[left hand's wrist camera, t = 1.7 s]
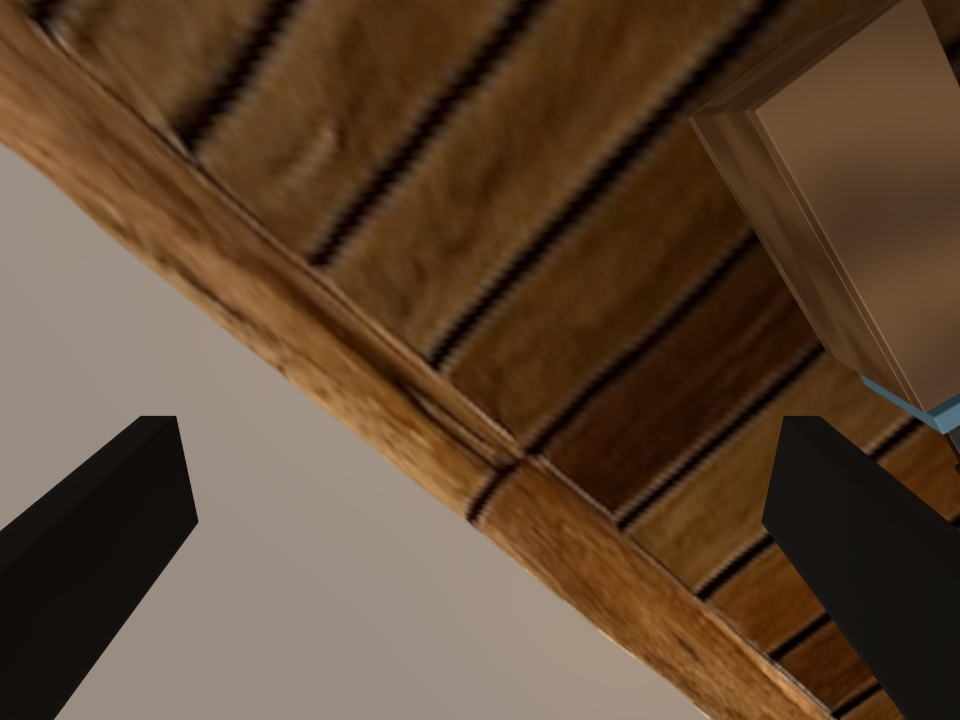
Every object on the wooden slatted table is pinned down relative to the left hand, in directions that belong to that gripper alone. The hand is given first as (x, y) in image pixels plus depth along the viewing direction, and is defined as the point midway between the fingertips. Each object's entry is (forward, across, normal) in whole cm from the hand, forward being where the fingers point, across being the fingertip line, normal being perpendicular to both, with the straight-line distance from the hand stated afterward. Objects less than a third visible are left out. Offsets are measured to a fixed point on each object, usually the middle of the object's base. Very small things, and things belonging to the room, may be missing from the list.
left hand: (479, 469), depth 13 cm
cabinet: (+21, +18, +3) cm, 28 cm away
